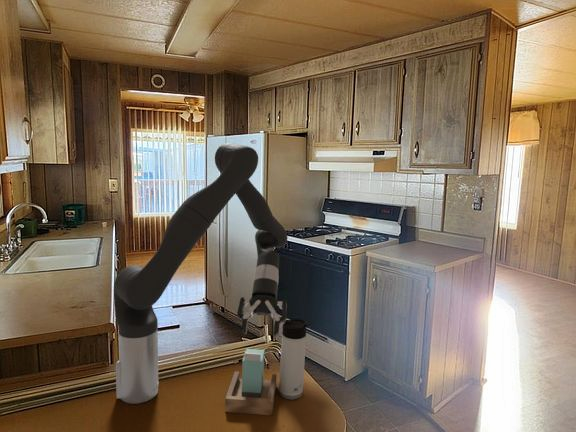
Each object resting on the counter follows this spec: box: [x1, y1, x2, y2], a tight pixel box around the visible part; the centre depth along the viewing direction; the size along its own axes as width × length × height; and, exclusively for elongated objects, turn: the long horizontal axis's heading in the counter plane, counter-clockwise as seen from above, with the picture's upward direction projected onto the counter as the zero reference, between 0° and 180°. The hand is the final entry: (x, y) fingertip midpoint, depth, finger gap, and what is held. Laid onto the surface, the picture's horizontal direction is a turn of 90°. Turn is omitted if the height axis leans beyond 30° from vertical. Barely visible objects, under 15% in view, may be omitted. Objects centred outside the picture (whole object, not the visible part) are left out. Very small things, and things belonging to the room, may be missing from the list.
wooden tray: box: [224, 370, 278, 416], centre depth 102 cm, size 11×12×4 cm
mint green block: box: [241, 348, 265, 398], centre depth 102 cm, size 5×6×12 cm
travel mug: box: [278, 318, 309, 400], centre depth 104 cm, size 6×7×20 cm
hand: (259, 334), depth 113 cm, fingers open, 8 cm apart
